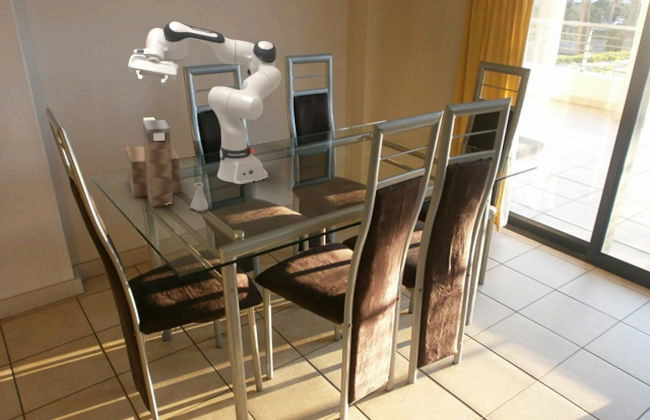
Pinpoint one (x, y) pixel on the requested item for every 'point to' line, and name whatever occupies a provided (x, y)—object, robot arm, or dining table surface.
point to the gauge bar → (156, 135)
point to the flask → (199, 199)
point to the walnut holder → (154, 166)
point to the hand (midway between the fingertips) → (151, 82)
